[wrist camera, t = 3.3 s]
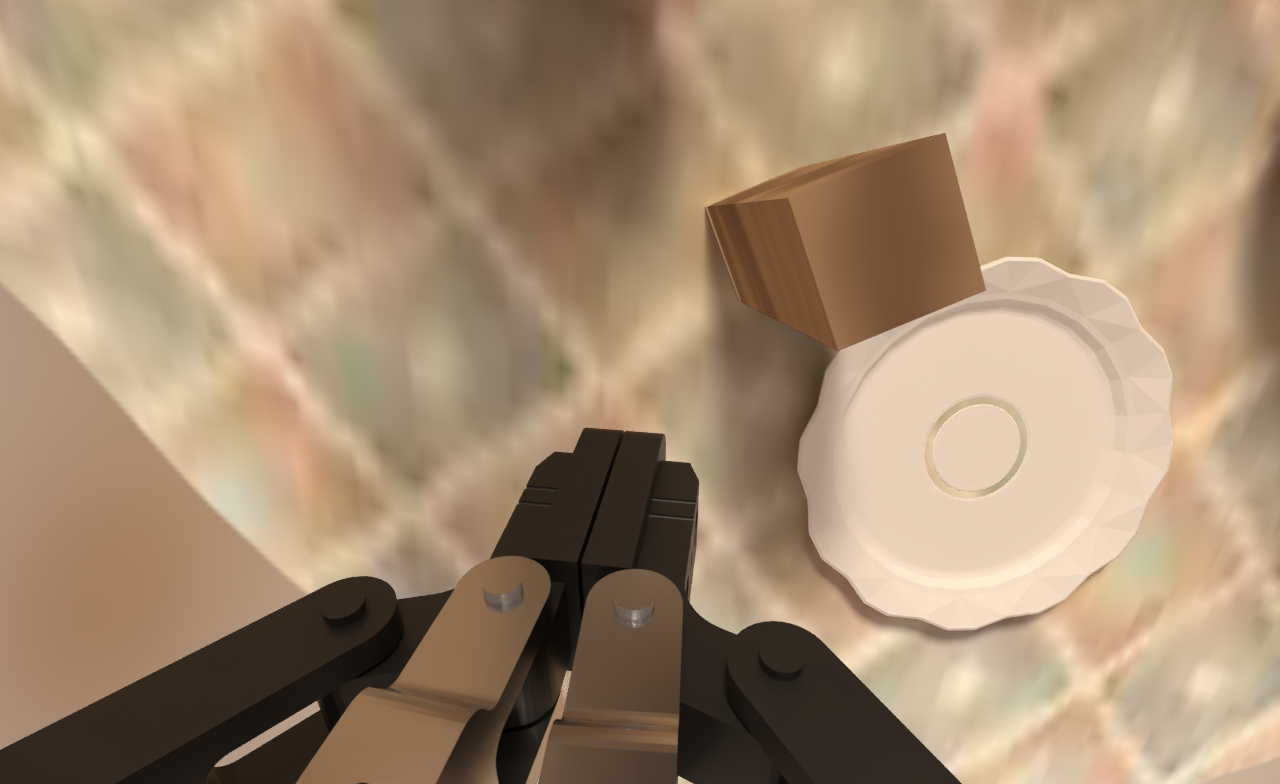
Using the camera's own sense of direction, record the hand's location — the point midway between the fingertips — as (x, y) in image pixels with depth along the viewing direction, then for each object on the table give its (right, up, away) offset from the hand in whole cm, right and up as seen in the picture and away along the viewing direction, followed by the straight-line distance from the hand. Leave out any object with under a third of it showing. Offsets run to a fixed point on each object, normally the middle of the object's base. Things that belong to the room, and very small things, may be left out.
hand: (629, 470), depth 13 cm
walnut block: (+7, +9, +22) cm, 24 cm away
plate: (+19, -2, +26) cm, 32 cm away
